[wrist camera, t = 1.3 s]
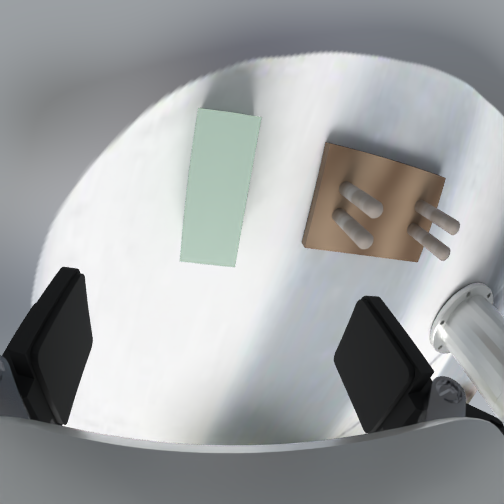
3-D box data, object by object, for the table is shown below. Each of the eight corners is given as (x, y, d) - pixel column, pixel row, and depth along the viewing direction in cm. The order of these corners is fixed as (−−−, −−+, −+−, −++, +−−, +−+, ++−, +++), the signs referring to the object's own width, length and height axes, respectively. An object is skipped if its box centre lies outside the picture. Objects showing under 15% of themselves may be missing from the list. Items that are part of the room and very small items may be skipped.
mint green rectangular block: (253, 115, 25) (261, 117, 21) (231, 242, 30) (234, 267, 26) (201, 108, 25) (198, 108, 20) (184, 236, 30) (179, 261, 25)
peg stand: (439, 175, 29) (482, 195, 23) (412, 257, 33) (446, 290, 27) (325, 142, 27) (358, 154, 20) (301, 242, 31) (323, 280, 24)
